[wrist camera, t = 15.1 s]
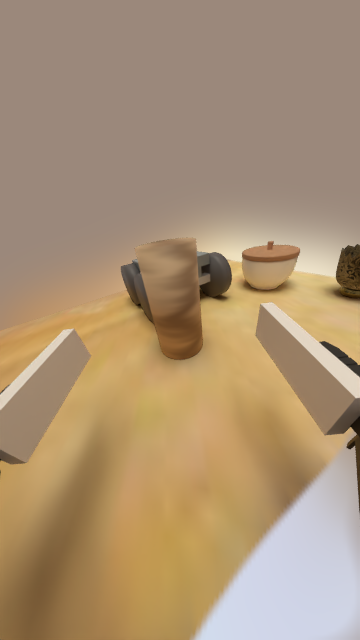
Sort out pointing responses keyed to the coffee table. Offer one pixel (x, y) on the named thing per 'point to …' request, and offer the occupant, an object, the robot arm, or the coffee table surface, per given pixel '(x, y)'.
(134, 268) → the trolley
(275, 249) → the lidded jar
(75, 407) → the coffee table surface
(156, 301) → the tan wooden cylinder
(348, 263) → the dark brown textured bowl
